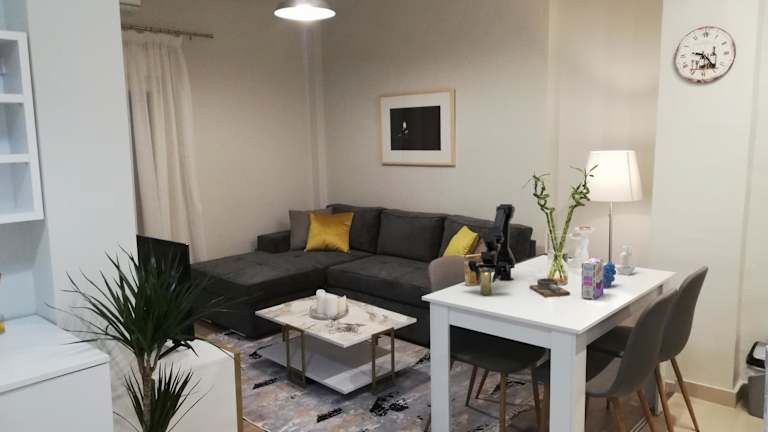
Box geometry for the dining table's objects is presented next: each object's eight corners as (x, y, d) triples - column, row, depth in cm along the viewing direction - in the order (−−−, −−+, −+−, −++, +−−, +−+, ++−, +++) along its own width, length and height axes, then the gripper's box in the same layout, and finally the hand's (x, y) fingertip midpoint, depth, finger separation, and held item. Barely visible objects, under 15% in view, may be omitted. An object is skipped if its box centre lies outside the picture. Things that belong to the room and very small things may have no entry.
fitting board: (529, 288, 282) (529, 278, 281) (553, 286, 283) (553, 276, 283) (545, 297, 264) (545, 286, 264) (569, 295, 266) (569, 284, 265)
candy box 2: (594, 300, 256) (594, 263, 254) (581, 298, 259) (581, 262, 258) (603, 293, 267) (604, 258, 265) (591, 292, 270) (591, 257, 269)
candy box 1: (468, 286, 291) (467, 256, 290) (464, 284, 295) (463, 255, 294) (484, 284, 294) (483, 254, 292) (480, 282, 298) (479, 253, 296)
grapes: (606, 283, 286) (606, 259, 285) (619, 285, 281) (619, 261, 279) (593, 287, 279) (593, 262, 278) (606, 289, 274) (606, 264, 272)
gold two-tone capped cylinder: (479, 294, 275) (478, 267, 273) (489, 293, 275) (489, 266, 274) (482, 296, 270) (482, 269, 268) (493, 295, 271) (492, 268, 269)
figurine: (614, 274, 304) (614, 246, 303) (623, 271, 310) (623, 244, 309) (627, 276, 299) (627, 247, 297) (636, 273, 305) (636, 245, 303)
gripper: (468, 243, 278) (461, 271, 269) (507, 245, 269) (501, 273, 261) (474, 257, 286) (467, 284, 277) (511, 259, 277) (505, 286, 269)
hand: (484, 281), depth 271 cm, fingers open, 7 cm apart
